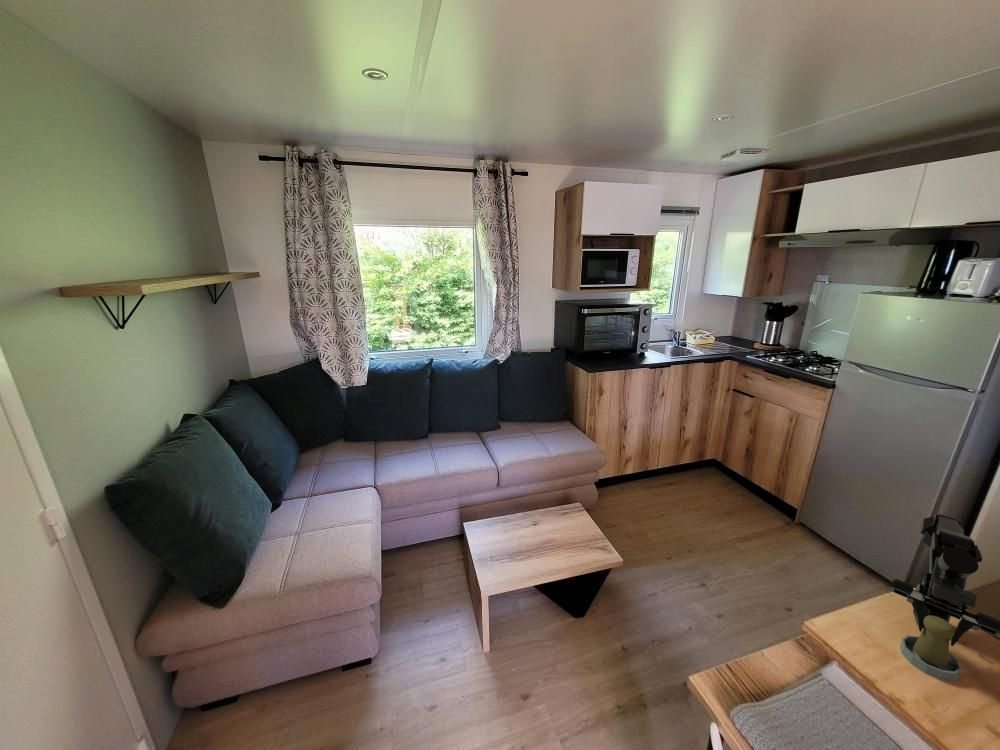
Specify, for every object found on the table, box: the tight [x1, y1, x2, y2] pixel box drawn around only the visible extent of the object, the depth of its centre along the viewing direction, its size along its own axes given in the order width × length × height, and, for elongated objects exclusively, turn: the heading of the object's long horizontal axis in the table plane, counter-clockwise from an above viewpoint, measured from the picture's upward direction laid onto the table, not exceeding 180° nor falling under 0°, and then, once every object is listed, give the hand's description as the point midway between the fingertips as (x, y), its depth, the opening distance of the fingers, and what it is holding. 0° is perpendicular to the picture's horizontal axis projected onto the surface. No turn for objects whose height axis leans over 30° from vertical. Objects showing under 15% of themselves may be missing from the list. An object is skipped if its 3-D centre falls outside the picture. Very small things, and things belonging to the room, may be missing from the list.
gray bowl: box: [899, 634, 963, 682], centre depth 97 cm, size 10×10×2 cm
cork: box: [913, 615, 955, 667], centre depth 96 cm, size 6×6×11 cm
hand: (935, 638), depth 95 cm, fingers closed on cork, 5 cm apart
